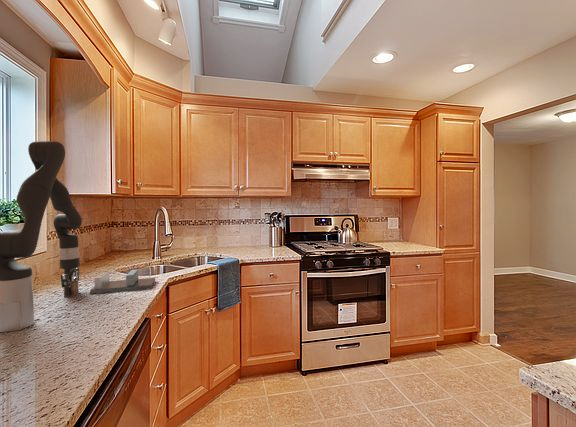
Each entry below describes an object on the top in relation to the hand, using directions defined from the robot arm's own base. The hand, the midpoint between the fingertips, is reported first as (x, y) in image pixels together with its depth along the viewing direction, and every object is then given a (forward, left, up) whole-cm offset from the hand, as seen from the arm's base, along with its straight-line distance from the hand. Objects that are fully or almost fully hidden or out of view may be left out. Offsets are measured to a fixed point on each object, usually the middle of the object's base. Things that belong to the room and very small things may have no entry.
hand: (71, 293), depth 139 cm
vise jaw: (+6, -25, +2) cm, 25 cm away
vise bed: (+6, -21, -1) cm, 22 cm away
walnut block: (0, 0, -1) cm, 1 cm away
